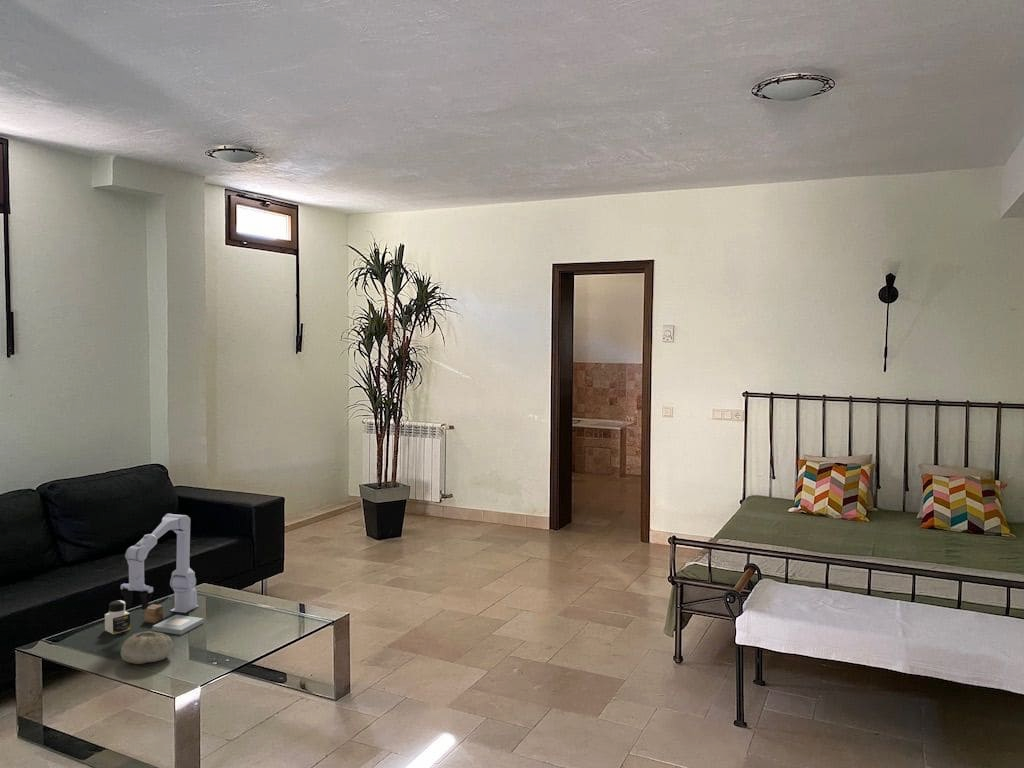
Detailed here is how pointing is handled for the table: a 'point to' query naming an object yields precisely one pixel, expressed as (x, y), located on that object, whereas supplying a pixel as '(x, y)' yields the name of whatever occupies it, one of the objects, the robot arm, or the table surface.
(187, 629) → the base board
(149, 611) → the walnut block
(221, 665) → the table surface
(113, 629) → the medicine bottle
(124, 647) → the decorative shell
